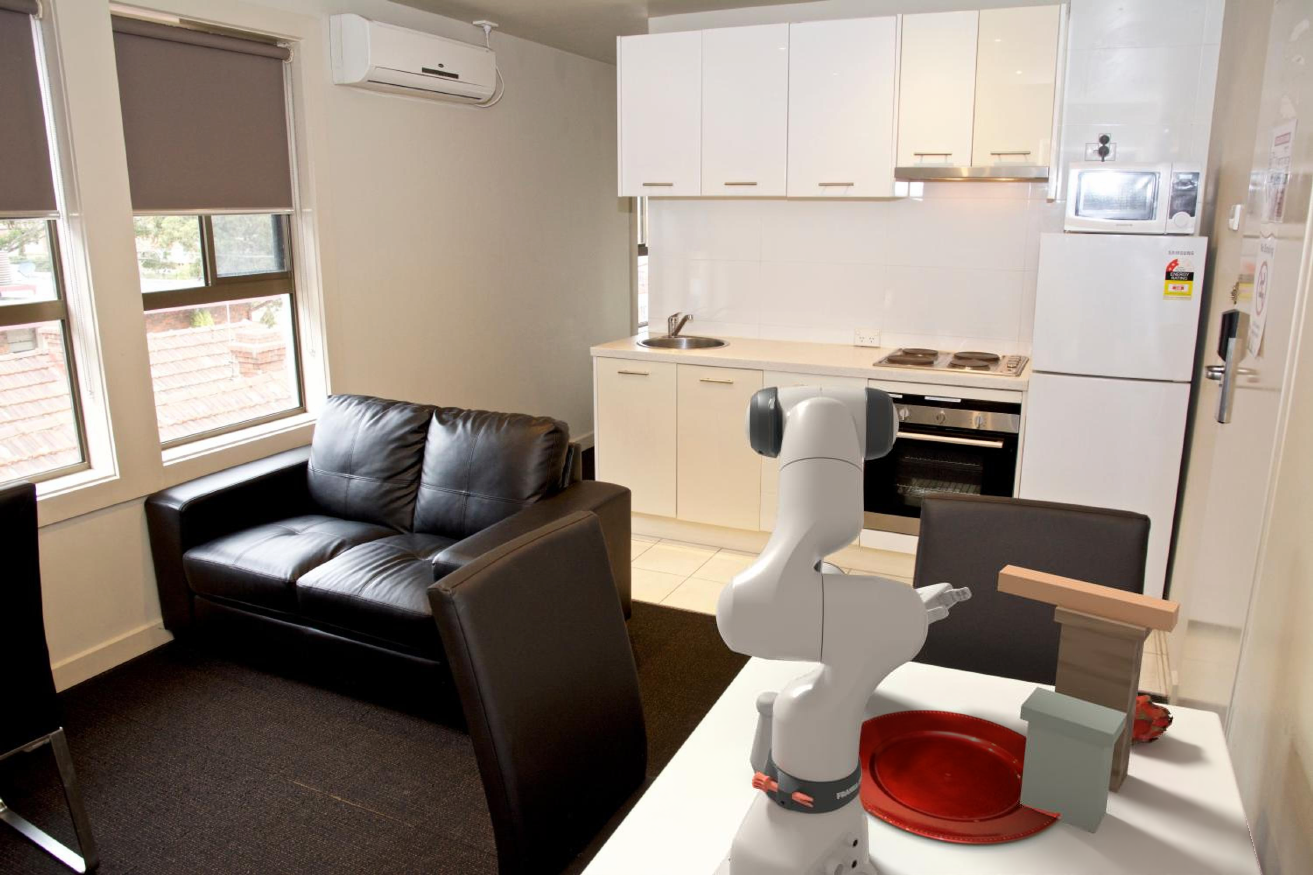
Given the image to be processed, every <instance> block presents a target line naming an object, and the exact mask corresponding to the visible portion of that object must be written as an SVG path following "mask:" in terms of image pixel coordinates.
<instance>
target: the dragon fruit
mask: <svg viewBox="0 0 1313 875" xmlns="http://www.w3.org/2000/svg"><path fill="white" fill-rule="evenodd" d="M1170 715H1172V712H1170V710H1169V709H1168V708H1167V707H1166V706H1162V705H1158V704H1156V703H1154V702H1153V701H1152V697H1151V695H1148V694H1144V695H1137V702H1136V710H1135V718H1134V726H1133V734H1132V741H1131V745H1136V744H1137V743H1138V741H1142V742H1146V743H1147V744H1152V743H1154V742H1156V741H1158V740H1159V736H1160V735H1162V734H1163V733H1164V732H1167V731H1168V730H1167V729H1168V728H1170V727H1171V725H1172V724H1173V720H1174V716H1173V715H1172V716H1170Z"/></svg>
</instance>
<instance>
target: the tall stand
mask: <svg viewBox="0 0 1313 875" xmlns="http://www.w3.org/2000/svg"><path fill="white" fill-rule="evenodd" d="M1053 622H1056V623H1060V624H1061V626H1060V628H1061V629H1060V636H1059V647H1058V656H1057V664H1056V666H1057V667H1056V674H1055V675H1056V676H1055V683H1054V692H1056V693H1060V694H1063V695H1067V696H1070V697H1073V698H1077V699H1080V700H1083V701H1087V702H1090V703H1093V704H1097V705H1100V706H1103V707H1107V708H1110V709H1114V710H1117V711H1120V712H1124V713H1127V717H1126V725H1125V728H1124V730H1123V731H1122V733H1121V734H1120V736H1119V738H1118V739H1117V741H1116V742H1115V744H1114V750H1113V759H1112V767H1111V775H1110V783H1109V791H1112V792H1115V793H1118V791H1119V789H1120V788H1121V786H1122V785H1123V782H1124V781H1125V779H1126V777H1127V776H1128V772H1129V765H1130V764H1129V763H1130V755H1131V749H1132V748H1131V747H1132V744H1131V743H1132V742H1131V741H1132V734H1133V726H1134V718H1135V710H1136V702H1137V695H1138V692H1139V685H1140V678H1141V670H1142V664H1143V663H1142V662H1143V657H1144V656H1143V655H1144V647H1145V641H1146V640H1147V639H1148V637H1149V636H1150V634H1151V633H1152V632H1153V631H1154V630H1155V629H1154V628H1150V627H1146V626H1142V625H1137V624H1133V623H1129V622H1125V621H1121V620H1117V619H1113V618H1109V617H1105V616H1100V615H1096V614H1092V613H1088V612H1084V611H1080V610H1076V609H1072V608H1068V607H1064V606H1059V605H1056V607H1055V608H1054V617H1053ZM1138 696H1139V695H1138Z"/></svg>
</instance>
